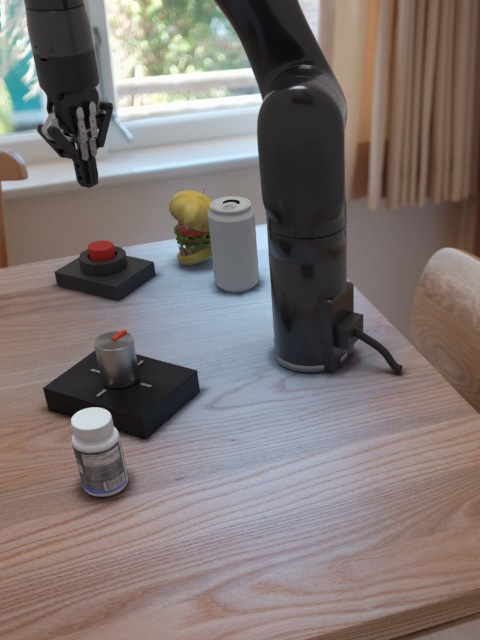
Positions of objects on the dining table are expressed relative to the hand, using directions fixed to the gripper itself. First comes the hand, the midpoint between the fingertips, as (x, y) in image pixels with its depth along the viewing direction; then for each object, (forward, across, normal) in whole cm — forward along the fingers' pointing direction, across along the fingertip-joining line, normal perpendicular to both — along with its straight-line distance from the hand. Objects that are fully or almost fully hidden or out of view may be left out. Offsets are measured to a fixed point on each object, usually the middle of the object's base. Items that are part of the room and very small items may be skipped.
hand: (89, 185), depth 123 cm
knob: (+11, +25, +22) cm, 35 cm away
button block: (+14, 0, 0) cm, 14 cm away
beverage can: (+14, -7, +18) cm, 24 cm away
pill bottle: (+14, +39, +30) cm, 51 cm away
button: (+10, 0, 0) cm, 10 cm away
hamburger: (+14, -11, +9) cm, 20 cm away
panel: (+14, +25, +22) cm, 36 cm away
